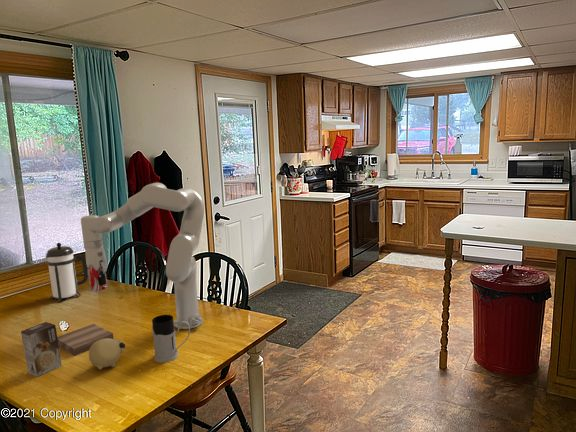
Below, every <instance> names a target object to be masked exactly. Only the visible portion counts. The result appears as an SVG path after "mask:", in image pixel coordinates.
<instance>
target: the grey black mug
mask: <svg viewBox="0 0 576 432" xmlns="http://www.w3.org/2000/svg"><path fill="white" fill-rule="evenodd" d="M174 321H175V320H174V316H173V315H170V314H160V315H157V316H155V317H153V318H152V320H151V323H152V326H151V329H152V336H153V337H152V340H153V347H154V348H153V349H154V357H153V359H154V361H155V362H157V363H168V362H172V361H174V360H176V359H177V358H178V356H179V353H178V349H180V348H181V347H182V346H183V345H184V344H185V343H186V341H188V339H189V337H190V333H191V329H190V325H189V324H188V323H187V322H185V321H182V322H180V323H179V324H178V328H177V331H176V330H175V327H174ZM181 323H186V324H187V325H188V327H189V329H188V333H187V337H186V338H185V340H184V341H183V342H182V343H181V344H179V345H178V347H177V339H176V334H177V333H178V332H180V329H179V325H180V324H181Z"/></svg>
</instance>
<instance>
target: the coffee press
mask: <svg viewBox="0 0 576 432" xmlns="http://www.w3.org/2000/svg"><path fill="white" fill-rule="evenodd" d="M75 260H80V261H81V264H82V269H83V278H82V279H81V280H79V281H78V280H77V275H76V267H75ZM44 262H47V266H48V272H49V279H50V285H51V287H50V288H51V292H52V294H51V296H50V298H51V299H57V302H58V303H62V302H63V299H65V298H69V297H70V298H71V297H72V296H75V297H77V298H80V297H81V293H79V290H78V287H79V286H81V285H84V284H85V283H86V282H87V281H88V279H89V277H88V267H87V265H86V257H83V256H82V255H75V256H74V250H73V248H72V247H70V246H64V245H63V246H62V243H61V242H57V243H56V247H52V248H50V249H48V250H47V252H46V254H45V257H44Z"/></svg>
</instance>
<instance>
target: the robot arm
mask: <svg viewBox="0 0 576 432" xmlns="http://www.w3.org/2000/svg"><path fill="white" fill-rule="evenodd" d="M153 208H157V209H161V210H167V211H170V212H171V211H172V212H182V211H183V215H182V219H181V225H180V230H179V233H178V234H177V235H176V236H174V237H173V239H172V240H171V243H170V245H169V250H168V254H167V260H166V263H165V264H166V265H165V274H166V277H167V278H168V280H169V281H171V282H172V283H173V286H174V287H173V289H174V299H175V313H176V319H175V320H173V321H174V328H176V329H178V324H179V323H180V322H182V321H185V322H187V323H188V324H189V325H190V330H191V329H194V328H197V327H199V326H201V325H202V324H203V322H204V319H203V317H202V316H201V314H200V312H199V311H200V310H199V297H198V286H197V285H198V284H197V261H196V258H195V256H193V254H194V252H195V251H196V250H197V249H198V247H199V245H200V237H201V232H202V227H203V221H204V215H205V204H204V201H203V199H202V197H201V195H200V194H199V193H198V192H197V191H196V190H194V189H193V188H190V187H182V188H179V189H177V190H175V189H170V188H167V186H166V185H165V184H163V183H162V182H153V183H149V184H147V185H145V186H143V187H142V188H141V190H140V191H139V192H137V193H136V194H134V195H132V196H130V197H129V198H128V199H127V201H126V203H125V204H123V205H122V206H120V207H118V208H117V209H116V210H114V211H111V212H110V213H107V214H104V215H102V216H99V215H97V214H90V215H85V216H82V217H81V218H80V225H81V233H82V241H83V249H84V250H85V260H86V265H87V268H88V267H89V266H93V268H94V269H95V271H97V273H98V276H99V277H98V283H99V286H102V285H105V284H106V278H107V271H108V261H107V255H106V252H105V248H104V243H103V242H104V241H103V234H109V233H112V232H114V231H115V230H118V229H120V228H122V227H124V226H125V225H127V224H128V223H130V222H131V221H134V220H135V219H136V218H138V217H140V216H142V215H144V214H145V213H146V212H148V211H150V210H152V209H153ZM99 268H102V269H99ZM100 271H101V273H100ZM179 330H189V327H188V325H187V324H186V323H181V324H180V325H179Z"/></svg>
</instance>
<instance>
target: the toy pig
mask: <svg viewBox="0 0 576 432" xmlns="http://www.w3.org/2000/svg"><path fill="white" fill-rule="evenodd" d="M125 349H126V344H125V343H124V341H122V340H121V339H117V338H114V339H111V338H105V339H101V340H98V341H96V342H95V343H94V344H93V345H92V346H91V347H90V350H88V359H89V361H90V363H91V365H92V366H95V367H96V368H97V369H98V370H102V369H103V368H108V367H111V368H115V366H116V362H118V360H119V358H120V356H121V355H122V354H123V353H124V351H125Z"/></svg>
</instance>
